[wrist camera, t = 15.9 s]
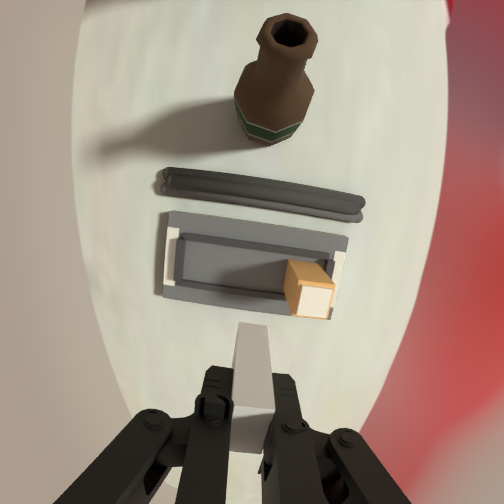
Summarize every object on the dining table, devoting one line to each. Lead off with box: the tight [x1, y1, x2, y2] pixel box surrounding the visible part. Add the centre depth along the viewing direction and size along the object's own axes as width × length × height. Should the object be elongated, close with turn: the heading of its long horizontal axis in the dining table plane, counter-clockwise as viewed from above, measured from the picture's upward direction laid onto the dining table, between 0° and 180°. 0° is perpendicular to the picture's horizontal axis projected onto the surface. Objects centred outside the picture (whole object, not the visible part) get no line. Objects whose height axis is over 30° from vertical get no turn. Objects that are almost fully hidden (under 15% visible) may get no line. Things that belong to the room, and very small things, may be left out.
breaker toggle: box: [283, 259, 335, 319], centre depth 34 cm, size 4×4×10 cm
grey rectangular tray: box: [163, 211, 349, 320], centre depth 39 cm, size 12×24×3 cm, turn 82°
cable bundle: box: [161, 167, 365, 223], centre depth 37 cm, size 28×4×3 cm, turn 82°
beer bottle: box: [234, 13, 318, 146], centre depth 25 cm, size 8×8×24 cm
